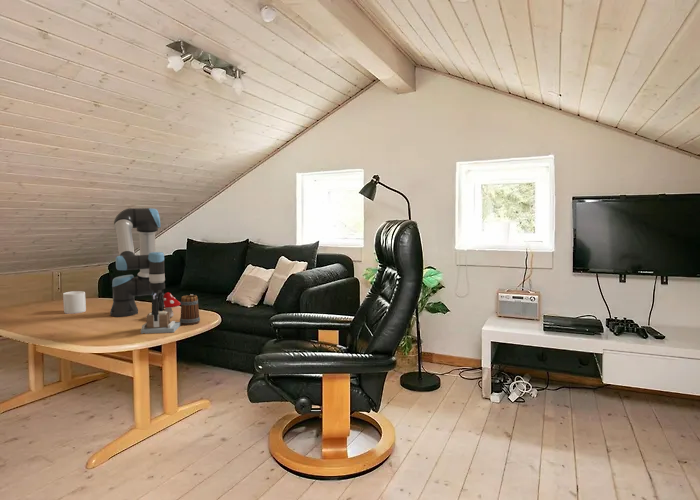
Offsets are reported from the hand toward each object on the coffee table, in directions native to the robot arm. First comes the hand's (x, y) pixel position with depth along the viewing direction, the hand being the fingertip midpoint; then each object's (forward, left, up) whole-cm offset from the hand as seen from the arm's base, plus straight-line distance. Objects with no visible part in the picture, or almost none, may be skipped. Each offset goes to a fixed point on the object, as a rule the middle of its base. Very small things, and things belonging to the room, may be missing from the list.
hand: (158, 325), depth 240 cm
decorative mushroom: (-29, -2, -3) cm, 29 cm away
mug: (-16, +13, -3) cm, 21 cm away
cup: (-54, -64, -3) cm, 84 cm away
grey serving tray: (-1, +1, -2) cm, 3 cm away
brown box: (0, 0, 0) cm, 0 cm away
